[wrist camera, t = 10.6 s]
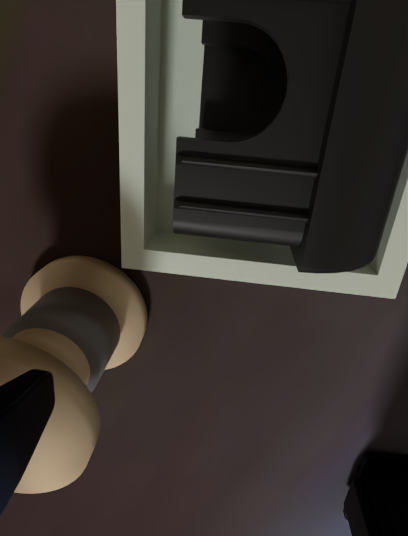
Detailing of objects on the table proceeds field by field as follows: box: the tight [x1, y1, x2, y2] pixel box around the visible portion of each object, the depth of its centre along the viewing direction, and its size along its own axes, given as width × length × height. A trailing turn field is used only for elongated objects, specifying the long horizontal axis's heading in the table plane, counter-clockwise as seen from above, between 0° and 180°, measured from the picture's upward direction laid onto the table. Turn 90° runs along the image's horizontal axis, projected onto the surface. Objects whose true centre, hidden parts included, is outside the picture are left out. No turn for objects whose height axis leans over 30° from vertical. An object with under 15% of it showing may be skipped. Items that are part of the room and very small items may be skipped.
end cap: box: [173, 0, 408, 274], centre depth 12 cm, size 10×7×7 cm
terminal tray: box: [116, 0, 408, 299], centre depth 14 cm, size 12×15×3 cm
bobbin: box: [0, 255, 148, 493], centre depth 17 cm, size 7×7×8 cm
